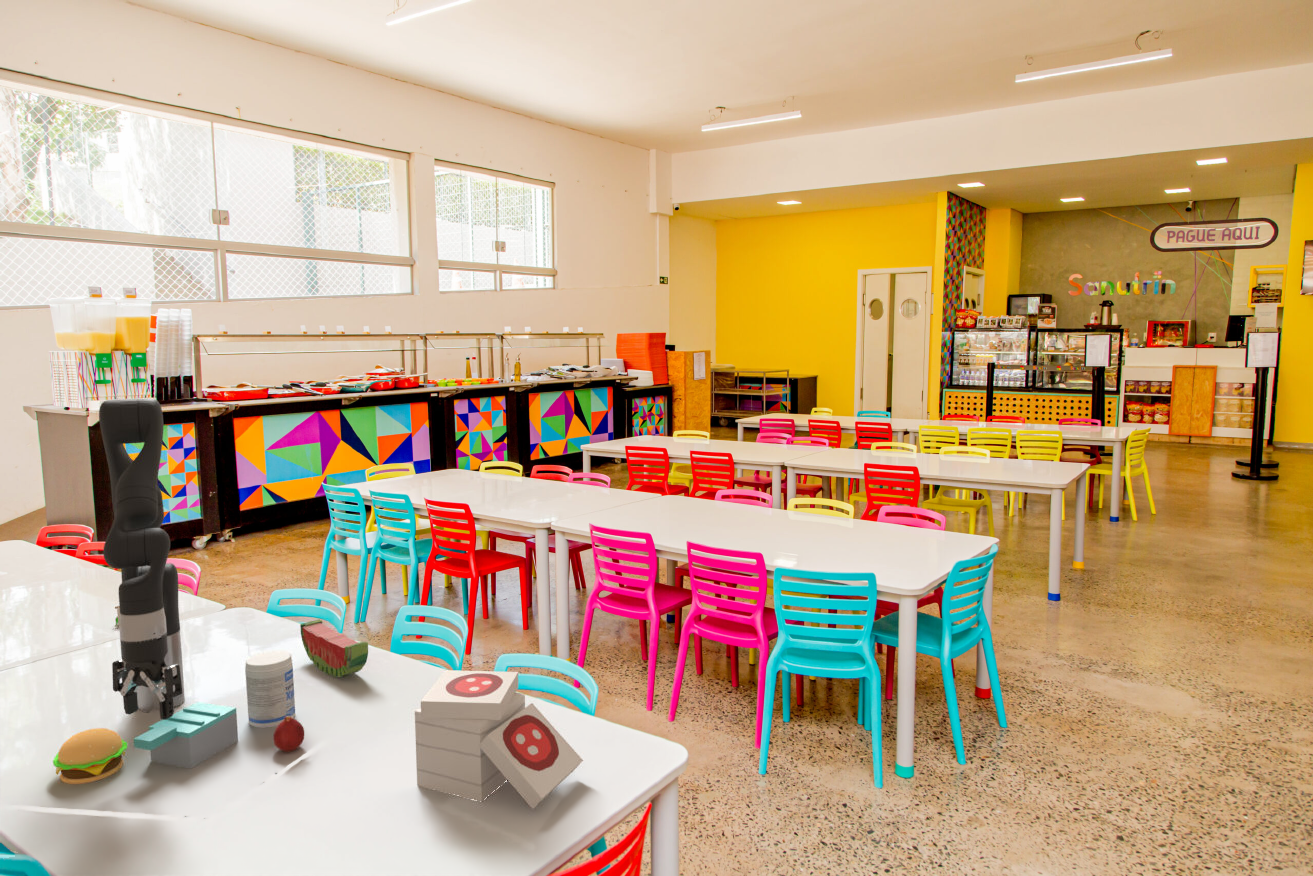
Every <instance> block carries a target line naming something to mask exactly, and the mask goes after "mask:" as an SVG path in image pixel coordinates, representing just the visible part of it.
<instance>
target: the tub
mask: <svg viewBox="0 0 1313 876" xmlns="http://www.w3.org/2000/svg"><path fill="white" fill-rule="evenodd" d="M238 732H239V731H238V715H237V712H236V713H234V714H232V715H231V716H229V717H227V718H225V719H223V720H222V721H220V722H218V723H216V724H214V725H213V726H211V727H209V728H207V729H205V730H203V731H202V732H200V733H198V734H196V735H194V736H193V737H191V738H185V737H179V736H177V737H175V738H173V739H171V740H169V741H167V742H166V743H164V744H162V745H160V746H158V747H156V748H154V749H153V750H149V751H150V762H153V763H157V764H158V763H159V764H163V765H168V766H175V767H180V768H186V769H193V768H195V767H197V766H199V764H202V763H203V762H205V761H207V760H208V759H210V758H212V757H213V756H216V755H217V754H218V753H220V752H222V751H223V750H225V749H227V748H228V747H231V746H232V745H233V744H235V743H237V742H239V736H238V735H239V734H238Z"/></svg>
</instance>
